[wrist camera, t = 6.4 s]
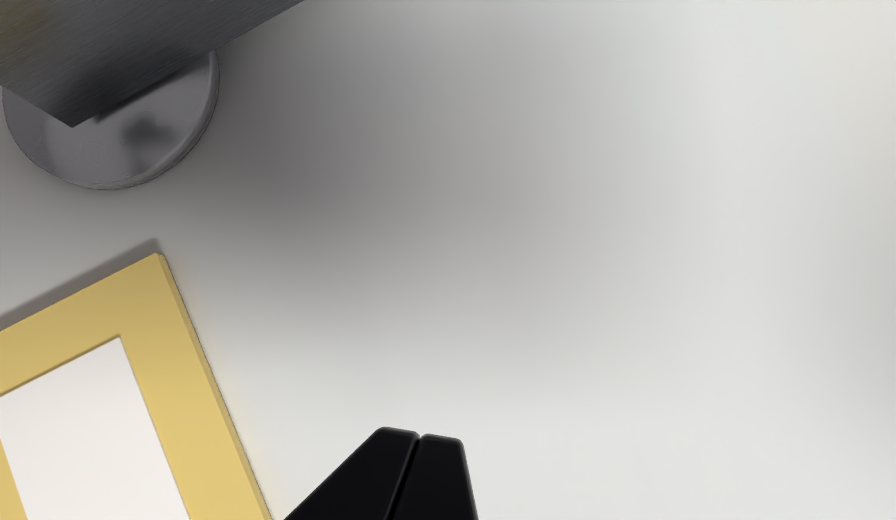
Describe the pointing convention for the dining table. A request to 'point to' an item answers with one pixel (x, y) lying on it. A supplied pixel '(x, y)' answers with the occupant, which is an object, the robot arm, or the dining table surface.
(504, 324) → the dining table surface
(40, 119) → the flange
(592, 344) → the dining table surface
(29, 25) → the gray rectangular panel
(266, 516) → the label plate
